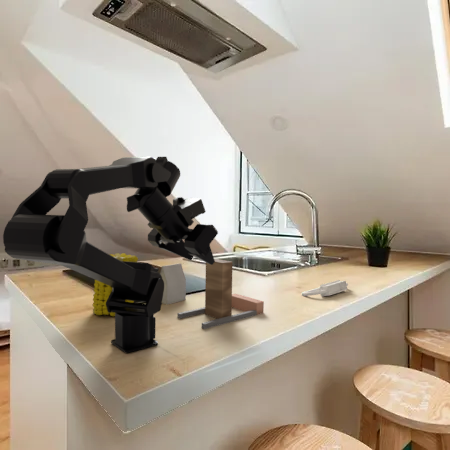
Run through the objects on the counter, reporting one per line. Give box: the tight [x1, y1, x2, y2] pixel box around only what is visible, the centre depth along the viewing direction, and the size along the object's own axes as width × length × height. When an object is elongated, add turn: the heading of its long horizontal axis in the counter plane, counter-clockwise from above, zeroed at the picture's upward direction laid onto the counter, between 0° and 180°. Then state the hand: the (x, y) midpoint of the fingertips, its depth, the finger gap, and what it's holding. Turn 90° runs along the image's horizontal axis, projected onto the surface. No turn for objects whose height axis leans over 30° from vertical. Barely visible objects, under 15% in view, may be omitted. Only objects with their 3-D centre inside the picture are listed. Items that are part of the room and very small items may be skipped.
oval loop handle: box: [301, 279, 349, 297], centre depth 111 cm, size 20×8×4 cm, turn 135°
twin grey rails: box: [177, 293, 265, 330], centre depth 85 cm, size 18×10×3 cm, turn 132°
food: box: [92, 252, 139, 317], centre depth 86 cm, size 15×12×10 cm
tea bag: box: [159, 263, 187, 306], centre depth 97 cm, size 4×7×10 cm, turn 142°
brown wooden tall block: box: [204, 258, 233, 319], centre depth 84 cm, size 3×6×13 cm, turn 42°
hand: (202, 260), depth 81 cm, fingers open, 7 cm apart
